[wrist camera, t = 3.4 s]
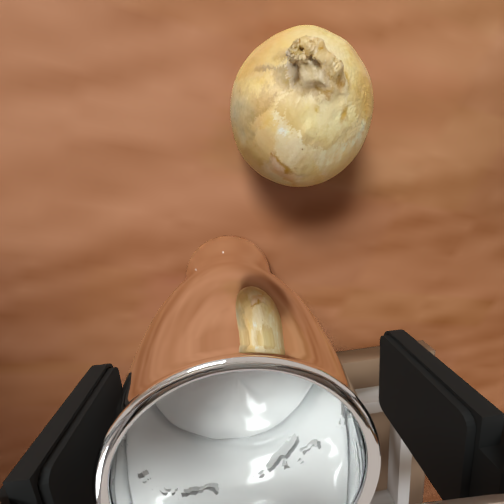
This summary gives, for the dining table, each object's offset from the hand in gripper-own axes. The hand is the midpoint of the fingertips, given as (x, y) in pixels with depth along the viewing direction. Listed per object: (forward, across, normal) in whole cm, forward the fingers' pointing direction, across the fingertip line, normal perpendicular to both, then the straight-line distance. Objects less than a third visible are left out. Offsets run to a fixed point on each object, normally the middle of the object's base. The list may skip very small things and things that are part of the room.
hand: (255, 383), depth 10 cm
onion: (+12, -4, -10) cm, 16 cm away
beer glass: (+12, +1, 0) cm, 12 cm away
